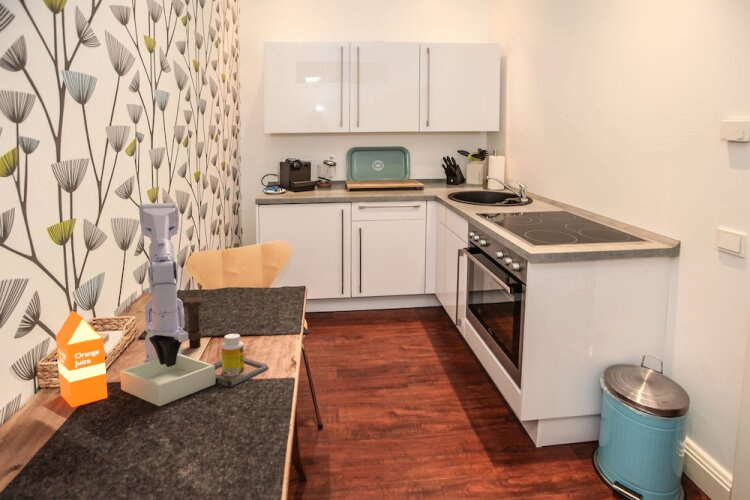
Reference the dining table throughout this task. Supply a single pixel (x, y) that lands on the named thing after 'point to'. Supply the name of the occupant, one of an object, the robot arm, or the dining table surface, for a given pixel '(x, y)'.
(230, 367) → the supplement bottle
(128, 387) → the bin
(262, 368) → the socket collar
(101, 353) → the orange juice
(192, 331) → the bolt
